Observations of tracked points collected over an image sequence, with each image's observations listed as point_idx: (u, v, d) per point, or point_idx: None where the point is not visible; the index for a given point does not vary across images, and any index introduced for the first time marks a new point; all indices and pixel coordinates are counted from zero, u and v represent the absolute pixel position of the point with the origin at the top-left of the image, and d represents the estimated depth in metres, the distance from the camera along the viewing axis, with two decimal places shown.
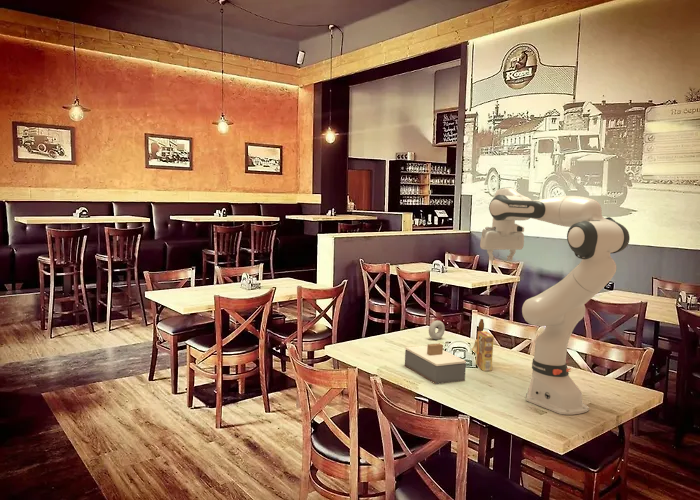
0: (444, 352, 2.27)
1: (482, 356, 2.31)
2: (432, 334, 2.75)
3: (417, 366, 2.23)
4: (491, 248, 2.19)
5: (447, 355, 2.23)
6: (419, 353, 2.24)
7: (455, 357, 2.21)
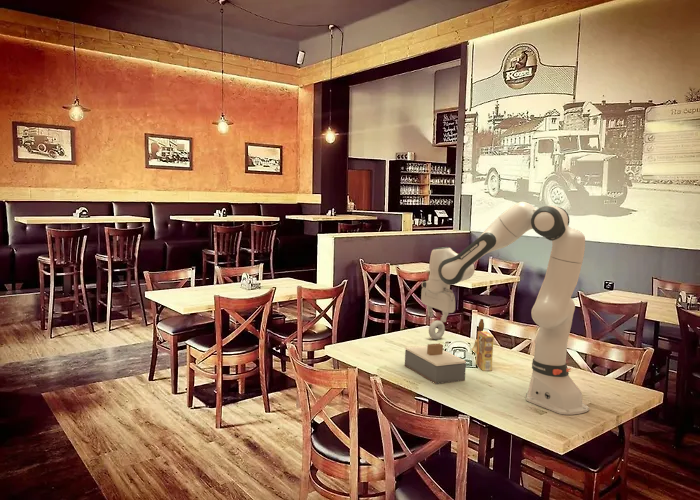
0: (444, 352, 2.27)
1: (482, 356, 2.31)
2: (432, 334, 2.75)
3: (417, 366, 2.23)
4: None
5: (447, 355, 2.23)
6: (419, 353, 2.24)
7: (455, 357, 2.21)
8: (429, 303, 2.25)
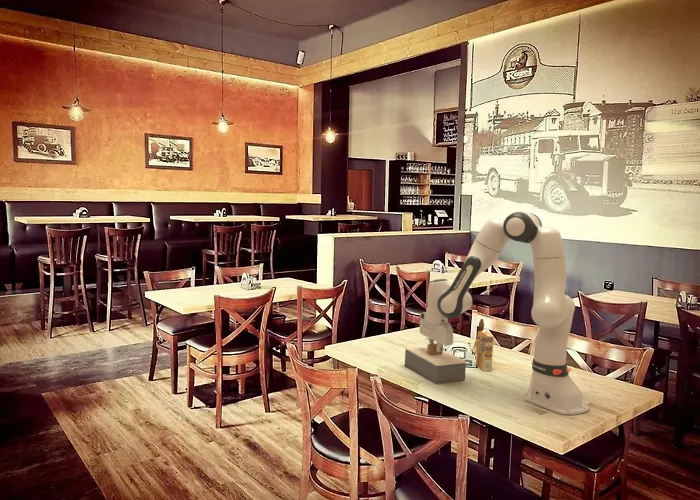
0: (444, 352, 2.27)
1: (482, 356, 2.31)
2: None
3: (417, 366, 2.23)
4: None
5: (447, 355, 2.23)
6: (419, 353, 2.24)
7: (455, 357, 2.21)
8: (427, 334, 2.26)
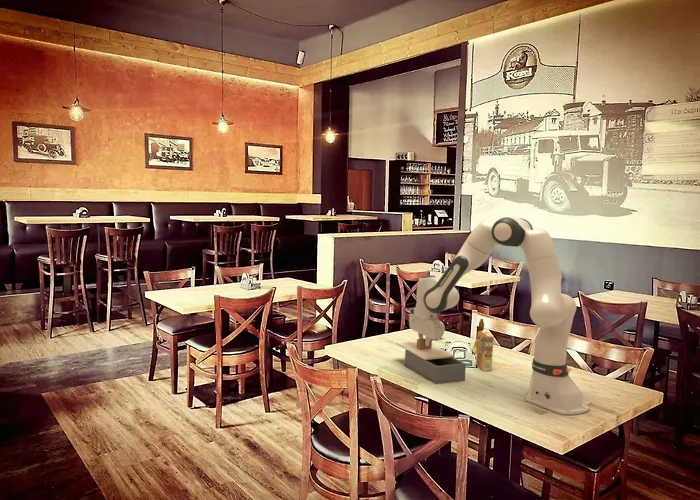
0: (433, 347, 2.35)
1: (482, 356, 2.31)
2: None
3: (417, 366, 2.23)
4: None
5: (436, 349, 2.31)
6: (409, 348, 2.32)
7: (443, 351, 2.28)
8: (417, 329, 2.33)
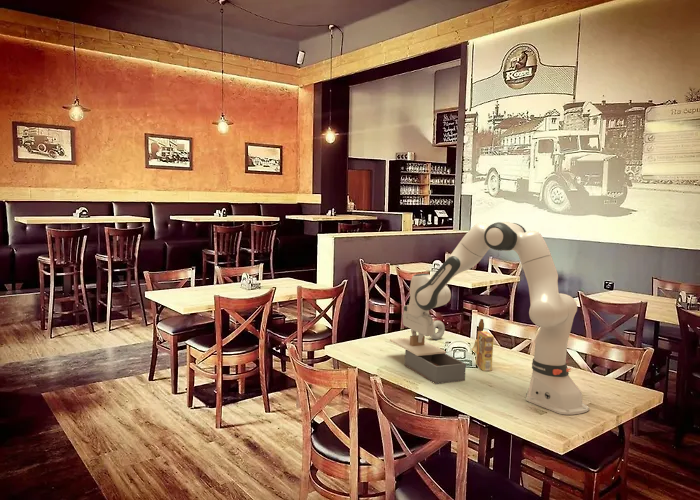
0: (426, 343, 2.40)
1: (482, 356, 2.31)
2: None
3: (417, 366, 2.23)
4: None
5: (428, 346, 2.36)
6: (402, 344, 2.37)
7: (436, 348, 2.33)
8: (410, 326, 2.39)
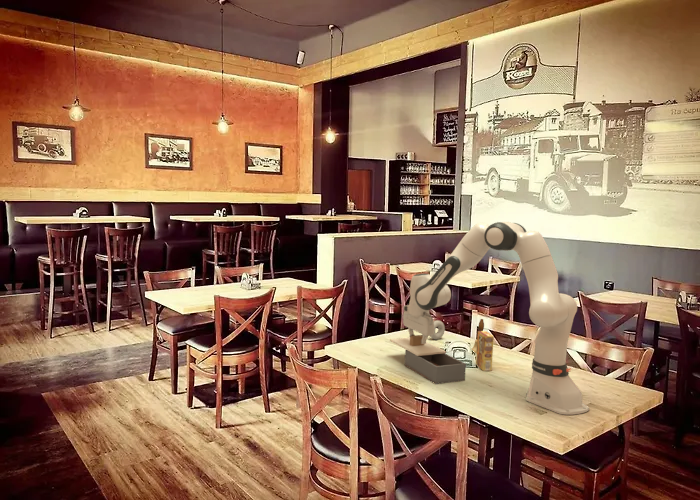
0: (426, 343, 2.40)
1: (482, 356, 2.31)
2: None
3: (417, 366, 2.23)
4: None
5: (428, 346, 2.36)
6: (402, 344, 2.37)
7: (436, 348, 2.33)
8: (410, 326, 2.38)
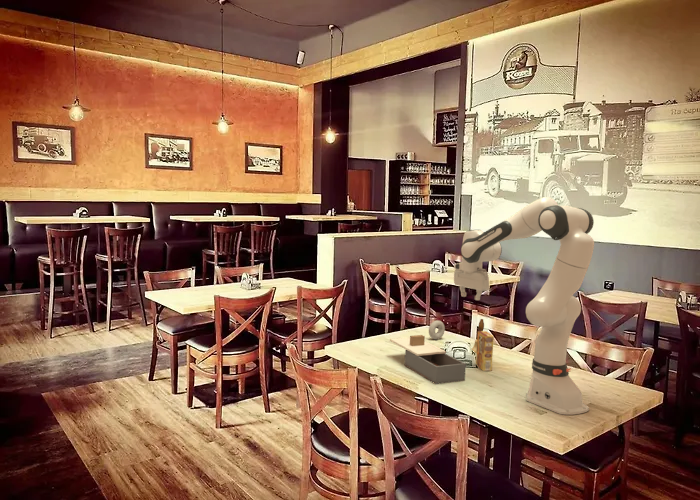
0: (426, 343, 2.40)
1: (482, 356, 2.31)
2: (432, 334, 2.75)
3: (417, 366, 2.23)
4: None
5: (428, 346, 2.36)
6: (402, 344, 2.37)
7: (436, 348, 2.33)
8: (462, 283, 2.37)
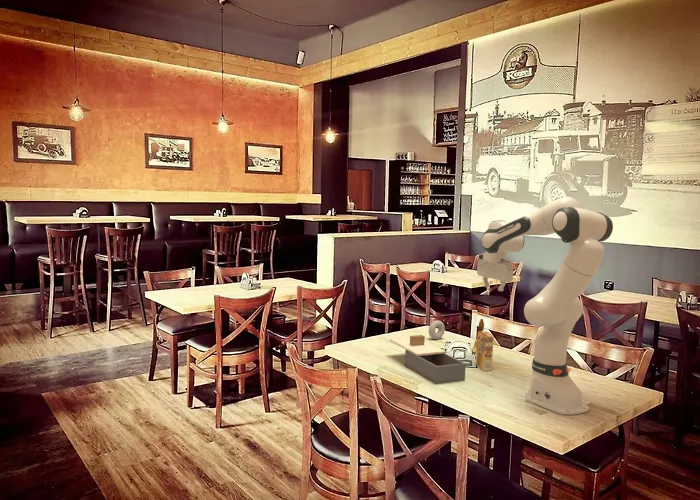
0: (426, 343, 2.40)
1: (482, 356, 2.31)
2: (432, 334, 2.75)
3: (417, 366, 2.23)
4: None
5: (428, 346, 2.36)
6: (402, 344, 2.37)
7: (436, 348, 2.33)
8: (486, 274, 2.38)
